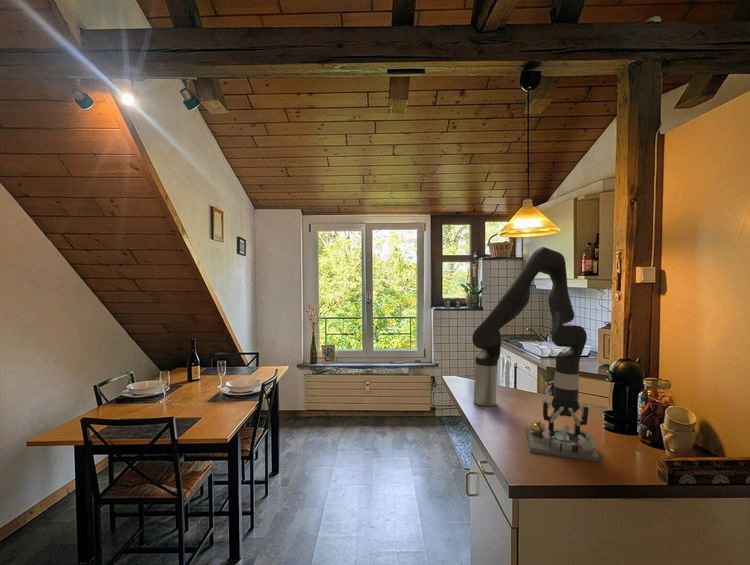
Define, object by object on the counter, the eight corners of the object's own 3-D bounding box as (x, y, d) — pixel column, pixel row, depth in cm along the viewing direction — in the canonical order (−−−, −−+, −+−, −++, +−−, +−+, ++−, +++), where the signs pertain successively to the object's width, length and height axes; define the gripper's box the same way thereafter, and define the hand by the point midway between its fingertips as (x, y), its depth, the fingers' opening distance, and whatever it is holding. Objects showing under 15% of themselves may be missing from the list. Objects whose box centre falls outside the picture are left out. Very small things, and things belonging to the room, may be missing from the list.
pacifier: (555, 446, 134) (574, 447, 133) (555, 427, 134) (574, 428, 133) (548, 437, 141) (566, 437, 141) (548, 419, 141) (566, 419, 140)
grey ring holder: (530, 452, 132) (530, 435, 132) (525, 430, 150) (526, 415, 150) (599, 462, 127) (600, 445, 126) (586, 438, 144) (587, 422, 144)
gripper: (544, 386, 134) (541, 435, 135) (592, 391, 130) (590, 442, 131) (541, 380, 142) (539, 427, 143) (587, 384, 138) (585, 432, 139)
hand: (563, 434), depth 137 cm, fingers open, 6 cm apart
